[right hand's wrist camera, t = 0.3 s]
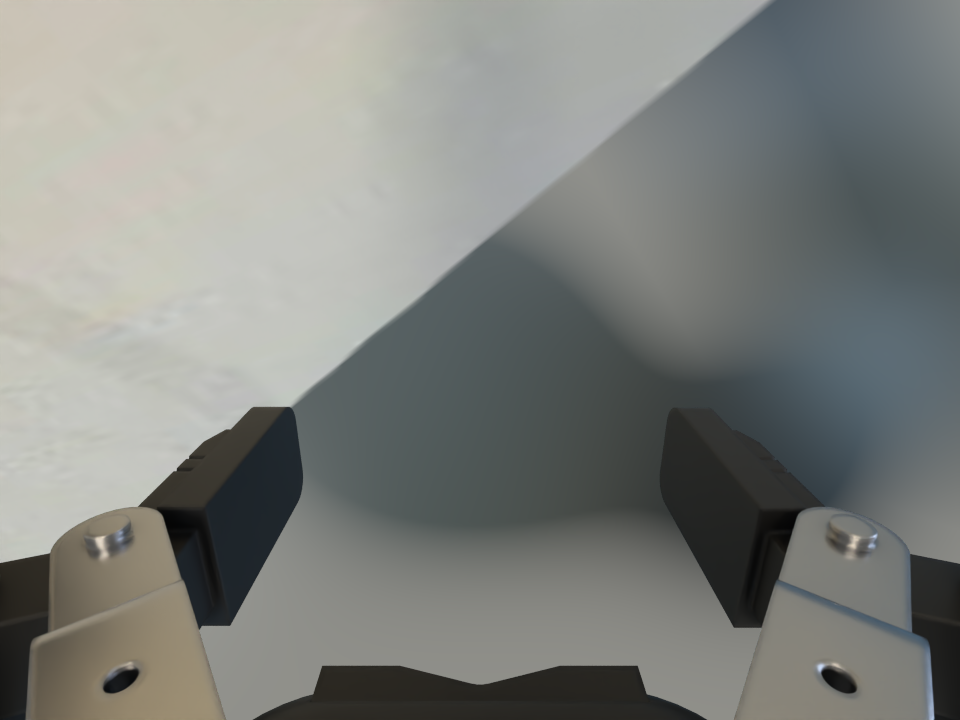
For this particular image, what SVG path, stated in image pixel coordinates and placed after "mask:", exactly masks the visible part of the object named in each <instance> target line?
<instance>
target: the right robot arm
mask: <svg viewBox="0 0 960 720" xmlns="http://www.w3.org/2000/svg"><path fill="white" fill-rule="evenodd" d="M302 484H303V470H302V463H301V455H300V448H299V441H298V433H297V426H296V419H295V415H294V412H293V410H292V409H291V408H290V407H253V408H251V409H250V410H249V411H248V412H247V413H246V414H245V415H244V416H243V417H242V418H241V419H240V421H239V422H238V423H237V424H236V425H235V426H234V427H233V428H232V429H231V430H225V431H223V432H221V433H219V434H217V435H215V436H214V437H212V438H210V439H208V440H206V441H204V442H203V443H202V444H201V445H200V446H199V447H198V448H197V449H196V450H195V451H194V452H193V453H192V454H191V455H190V456H189V459H186V460H185V461H184V462H183V463H182V464H181V465H180V466H179V467H178V468H177V471H174V472H173V473H172V474H171V475H170V476H169V477H168V478H167V479H166V480H165V481H163V482H162V483H161V484H160V485H159V486H158V487H157V488H156V489H155V490H154V491H153V492H152V493H151V494H150V495H149V496H148V497H147V498H146V499H145V500H144V501H143V502H142V503H141V504H140V505H139V506H138V507H129V508H122V509H117V510H113V511H109V512H106V513H103V514H100V515H97V516H95V517H93V518H90V519H88V520H86V521H84V522H82V523H80V524H78V525H77V526H75V527H73V528H72V529H70V530H69V531H68V532H66V533H65V534H64V535H63V536H62V537H60V538H59V539H58V540H57V542H56V543H55V544H54V546H53V547H52V549H51V552H50V553H49V554H44V555H39V556H34V557H29V558H24V559H19V560H14V561H9V562H4V563H0V720H226V717H225V714H224V711H223V708H222V704H221V701H220V698H219V695H218V691H217V688H216V685H215V681H214V678H213V675H212V671H211V668H210V665H209V661H208V658H207V655H206V652H205V648H204V645H203V642H202V638H201V635H200V632H199V630H200V628H201V626H230V625H231V623H232V621H233V619H234V618H235V616H236V614H237V612H238V610H239V609H240V607H241V605H242V603H243V601H244V599H245V598H246V596H247V594H248V592H249V590H250V588H251V587H252V585H253V583H254V581H255V579H256V578H257V576H258V574H259V572H260V570H261V568H262V567H263V565H264V563H265V561H266V559H267V557H268V556H269V554H270V552H271V550H272V548H273V547H274V545H275V543H276V541H277V539H278V537H279V536H280V534H281V532H282V530H283V528H284V527H285V525H286V523H287V521H288V519H289V517H290V516H291V514H292V512H293V510H294V508H295V506H296V505H297V503H298V501H299V498H300V495H301V491H302ZM660 488H661V493H662V497H663V500H664V502H665V504H666V506H667V508H668V510H669V511H670V513H671V515H672V517H673V519H674V520H675V522H676V524H677V526H678V528H679V529H680V531H681V533H682V535H683V537H684V538H685V540H686V542H687V544H688V546H689V547H690V549H691V551H692V553H693V555H694V556H695V558H696V560H697V562H698V564H699V565H700V567H701V569H702V571H703V573H704V574H705V576H706V578H707V580H708V582H709V583H710V585H711V587H712V589H713V591H714V592H715V594H716V596H717V598H718V600H719V601H720V603H721V605H722V607H723V609H724V610H725V612H726V614H727V616H728V618H729V619H730V621H731V623H732V625H733V627H734V628H761V632H760V635H759V639H758V642H757V645H756V648H755V652H754V655H753V658H752V661H751V665H750V668H749V671H748V675H747V678H746V681H745V684H744V688H743V691H742V694H741V698H740V701H739V704H738V708H737V711H736V714H735V717H734V720H960V564H958V563H952V562H947V561H942V560H937V559H932V558H927V557H922V556H917V555H912V554H910V553H909V549H908V547H907V546H906V544H905V543H904V542H903V540H902V539H901V538H900V537H898V536H897V535H896V534H895V533H894V532H892V531H891V530H890V529H888V528H887V527H885V526H883V525H882V524H880V523H878V522H876V521H874V520H872V519H870V518H867V517H865V516H863V515H860V514H857V513H854V512H851V511H847V510H843V509H838V508H831V507H825V506H824V505H823V504H822V503H821V502H820V501H819V500H818V499H817V498H816V497H815V496H814V495H813V494H812V493H811V492H810V491H809V490H808V489H806V487H805V486H803V485H802V484H801V483H800V482H799V481H798V480H797V479H796V478H795V477H794V476H793V475H792V474H791V473H787V469H786V468H785V467H784V466H783V465H782V464H781V463H780V462H779V461H778V460H775V459H774V456H773V455H772V454H771V453H770V452H769V451H768V450H767V449H766V448H765V447H763V446H762V445H761V444H760V443H759V442H757V441H756V440H754V439H752V438H750V437H748V436H746V435H744V434H743V433H741V432H739V431H737V430H732V429H731V428H730V427H729V426H728V425H727V424H726V423H725V422H724V421H723V420H722V419H721V418H720V417H719V416H718V415H717V414H716V413H715V412H714V411H713V410H712V409H711V408H672V409H671V411H670V412H669V415H668V419H667V425H666V433H665V440H664V447H663V454H662V462H661V469H660ZM253 720H707V719H705V718H703V717H701V716H700V715H698V714H696V713H694V712H692V711H690V710H688V709H686V708H683V707H681V706H679V705H677V704H675V703H672V702H669V701H666V700H663V699H661V698H658V697H655V696H651V695H647V694H646V691H645V688H644V684H643V681H642V678H641V675H640V672H639V669H638V666H558V667H554V668H550V669H546V670H542V671H538V672H534V673H530V674H526V675H522V676H518V677H514V678H510V679H506V680H502V681H498V682H494V683H490V684H484V685H476V684H470V683H466V682H462V681H458V680H454V679H450V678H446V677H442V676H438V675H434V674H430V673H426V672H422V671H418V670H414V669H410V668H406V667H402V666H322V669H321V672H320V675H319V678H318V681H317V684H316V688H315V691H314V694H313V695H309V696H306V697H302V698H299V699H297V700H294V701H291V702H288V703H285V704H283V705H281V706H279V707H277V708H274V709H272V710H270V711H268V712H266V713H264V714H262V715H260V716H259V717H257V718H255V719H253Z"/></svg>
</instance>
